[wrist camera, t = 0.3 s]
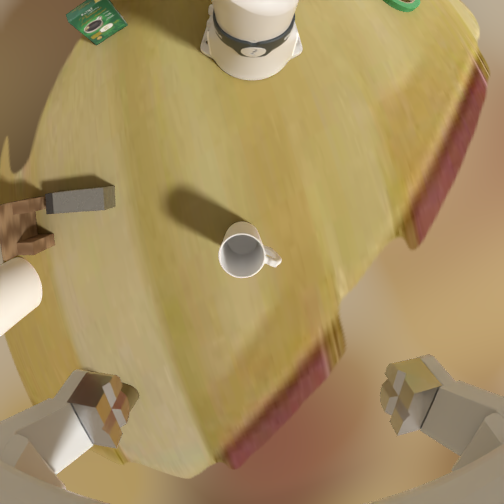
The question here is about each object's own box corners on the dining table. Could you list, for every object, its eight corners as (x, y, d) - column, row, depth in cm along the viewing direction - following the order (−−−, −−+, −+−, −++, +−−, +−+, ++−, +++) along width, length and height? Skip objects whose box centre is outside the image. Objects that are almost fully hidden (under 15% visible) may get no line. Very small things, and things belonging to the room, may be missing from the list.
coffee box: (125, 17, 41) (101, -12, 29) (129, 25, 42) (105, -4, 30) (93, 38, 42) (63, 15, 30) (96, 46, 43) (66, 23, 30)
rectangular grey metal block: (58, 191, 51) (45, 194, 46) (114, 185, 51) (103, 187, 46) (59, 210, 52) (46, 214, 47) (115, 206, 52) (104, 209, 47)
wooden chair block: (30, 198, 51) (-4, 205, 39) (50, 195, 51) (15, 202, 39) (35, 245, 54) (3, 260, 42) (54, 244, 54) (22, 260, 42)
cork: (133, 383, 63) (120, 413, 53) (142, 400, 65) (131, 430, 54) (113, 383, 63) (99, 412, 53) (123, 400, 65) (110, 429, 54)
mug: (219, 249, 55) (212, 270, 43) (230, 214, 53) (226, 227, 42) (270, 265, 56) (277, 289, 45) (282, 232, 55) (293, 248, 43)
